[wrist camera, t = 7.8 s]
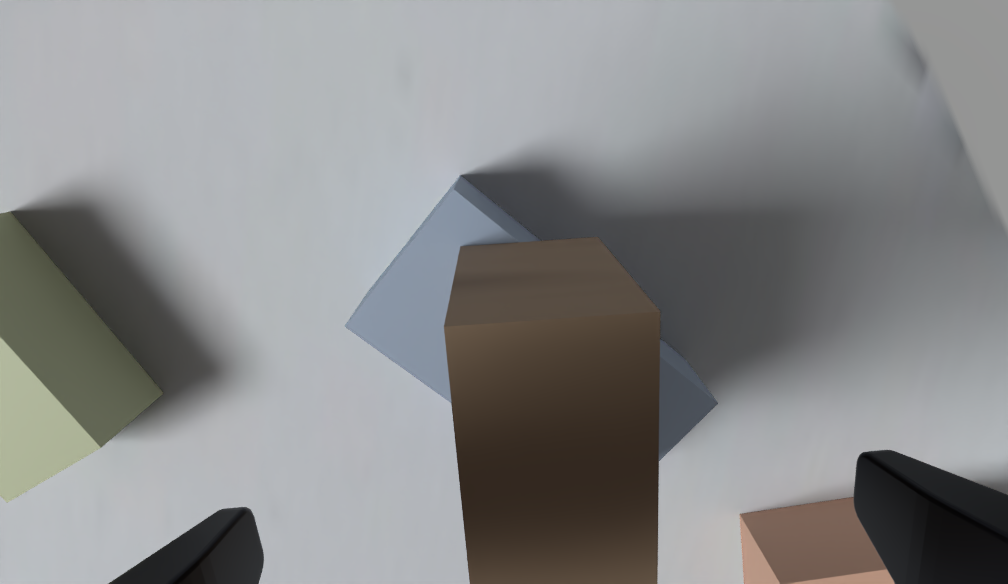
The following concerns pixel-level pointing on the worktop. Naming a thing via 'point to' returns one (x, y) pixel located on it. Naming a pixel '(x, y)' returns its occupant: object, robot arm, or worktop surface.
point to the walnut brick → (555, 414)
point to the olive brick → (55, 369)
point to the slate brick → (426, 292)
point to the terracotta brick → (809, 546)
